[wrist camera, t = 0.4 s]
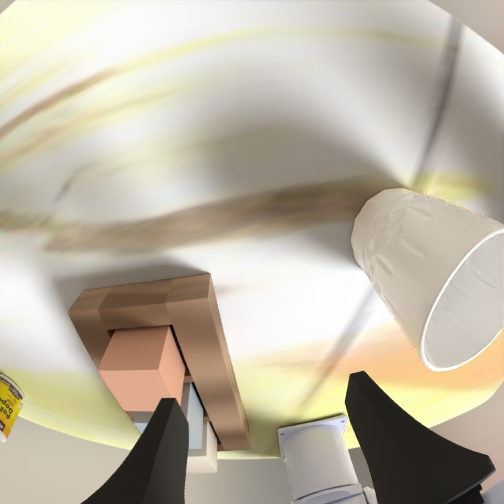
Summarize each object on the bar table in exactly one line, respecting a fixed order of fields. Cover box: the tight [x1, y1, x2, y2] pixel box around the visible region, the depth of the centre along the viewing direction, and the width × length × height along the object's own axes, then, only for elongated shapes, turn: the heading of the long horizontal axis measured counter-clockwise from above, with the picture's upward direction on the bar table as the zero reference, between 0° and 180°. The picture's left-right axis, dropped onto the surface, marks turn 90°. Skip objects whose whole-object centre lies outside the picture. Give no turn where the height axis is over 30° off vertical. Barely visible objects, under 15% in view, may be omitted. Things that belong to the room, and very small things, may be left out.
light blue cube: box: [133, 382, 203, 449], centre depth 19 cm, size 4×4×4 cm
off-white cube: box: [186, 421, 217, 473], centre depth 21 cm, size 4×4×4 cm
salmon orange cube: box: [97, 325, 185, 411], centre depth 16 cm, size 4×4×4 cm
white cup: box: [351, 188, 504, 371], centre depth 14 cm, size 8×8×10 cm
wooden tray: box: [68, 274, 250, 451], centre depth 21 cm, size 19×10×3 cm, turn 7°
